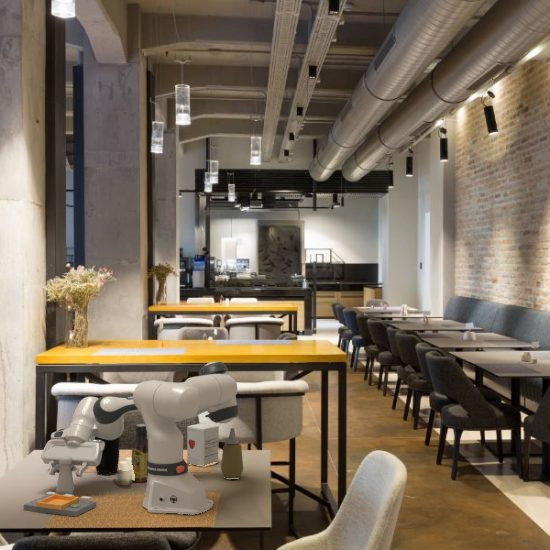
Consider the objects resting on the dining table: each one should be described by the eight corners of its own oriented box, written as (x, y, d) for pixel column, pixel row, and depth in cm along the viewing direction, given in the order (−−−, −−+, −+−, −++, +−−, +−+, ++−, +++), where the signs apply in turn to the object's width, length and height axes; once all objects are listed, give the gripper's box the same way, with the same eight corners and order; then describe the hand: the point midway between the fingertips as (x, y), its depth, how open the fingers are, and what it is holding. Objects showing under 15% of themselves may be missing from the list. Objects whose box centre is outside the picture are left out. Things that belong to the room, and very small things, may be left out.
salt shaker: (69, 499, 247) (69, 459, 247) (52, 498, 248) (53, 458, 248) (77, 494, 253) (77, 455, 253) (61, 493, 254) (61, 454, 254)
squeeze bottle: (216, 478, 275) (216, 428, 275) (233, 474, 280) (234, 425, 280) (230, 482, 269) (230, 431, 269) (247, 478, 274) (248, 428, 274)
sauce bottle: (127, 480, 271) (128, 424, 271) (143, 477, 275) (143, 422, 275) (137, 484, 266) (137, 427, 266) (152, 481, 270) (153, 425, 270)
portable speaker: (104, 468, 287) (105, 416, 287) (124, 471, 282) (124, 419, 283) (89, 473, 279) (89, 420, 279) (108, 477, 275) (109, 422, 275)
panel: (96, 506, 239) (96, 497, 239) (75, 517, 229) (75, 507, 229) (46, 500, 246) (46, 490, 246) (23, 510, 235) (23, 500, 235)
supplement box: (186, 464, 294) (186, 425, 294) (201, 460, 301) (201, 422, 301) (203, 468, 289) (204, 428, 289) (219, 463, 296) (219, 425, 296)
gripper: (109, 445, 260) (97, 481, 251) (53, 443, 264) (39, 478, 254) (104, 435, 256) (91, 471, 246) (47, 432, 259) (33, 468, 250)
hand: (64, 475), depth 250 cm, fingers open, 8 cm apart
